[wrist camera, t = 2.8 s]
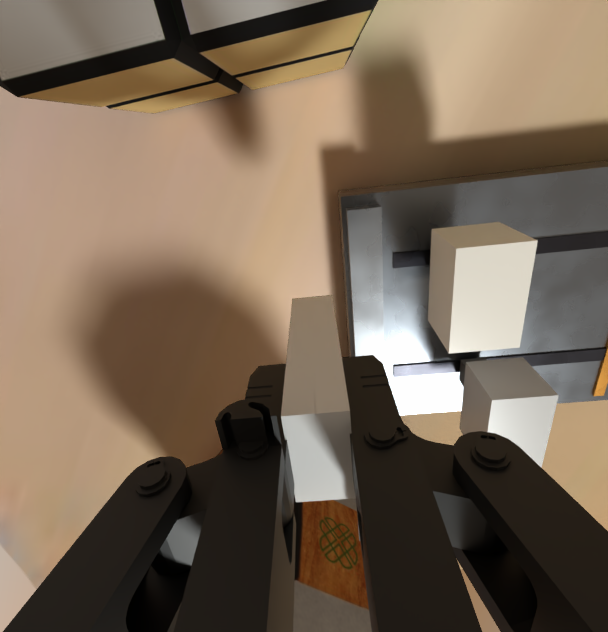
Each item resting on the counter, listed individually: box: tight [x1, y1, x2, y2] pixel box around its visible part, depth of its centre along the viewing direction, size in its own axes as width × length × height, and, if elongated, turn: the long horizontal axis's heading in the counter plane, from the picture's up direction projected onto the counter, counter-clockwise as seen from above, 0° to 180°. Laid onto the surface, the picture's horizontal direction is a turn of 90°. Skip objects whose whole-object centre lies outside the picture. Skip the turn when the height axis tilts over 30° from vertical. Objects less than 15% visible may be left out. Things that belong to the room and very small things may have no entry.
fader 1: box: [428, 222, 538, 354], centre depth 16 cm, size 4×3×5 cm, turn 6°
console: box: [338, 160, 608, 415], centre depth 21 cm, size 14×20×3 cm
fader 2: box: [459, 357, 559, 467], centre depth 19 cm, size 4×3×5 cm, turn 7°
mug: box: [217, 449, 372, 632], centre depth 24 cm, size 20×14×15 cm
